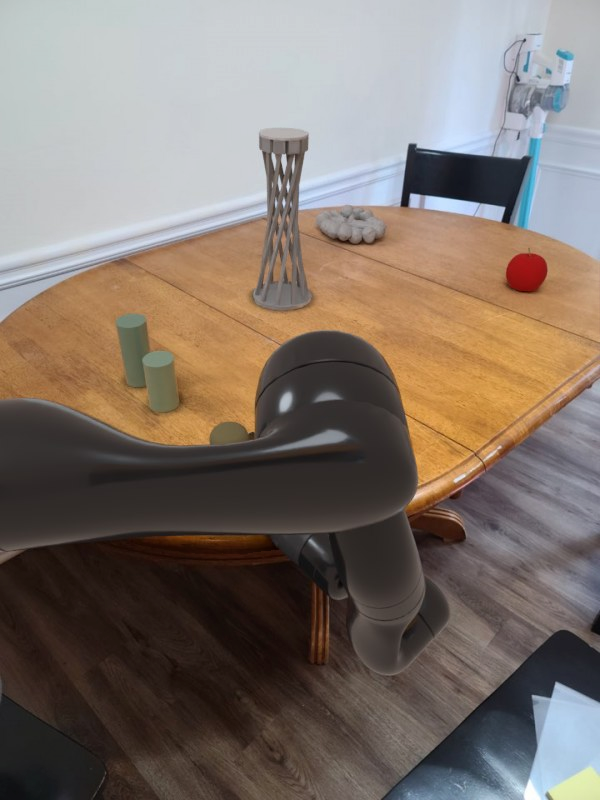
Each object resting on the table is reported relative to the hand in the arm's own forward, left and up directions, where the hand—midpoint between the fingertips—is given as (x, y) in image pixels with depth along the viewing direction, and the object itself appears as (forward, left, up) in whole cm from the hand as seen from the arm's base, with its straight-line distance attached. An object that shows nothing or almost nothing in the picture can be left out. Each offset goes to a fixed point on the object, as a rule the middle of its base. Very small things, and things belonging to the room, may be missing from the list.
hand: (224, 449), depth 77 cm
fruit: (+94, +14, -7) cm, 95 cm away
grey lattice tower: (+43, +44, -7) cm, 62 cm away
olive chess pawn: (0, -2, -7) cm, 7 cm away
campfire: (+85, +66, -7) cm, 108 cm away
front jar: (+2, +22, -7) cm, 24 cm away
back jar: (+2, +32, -7) cm, 32 cm away
